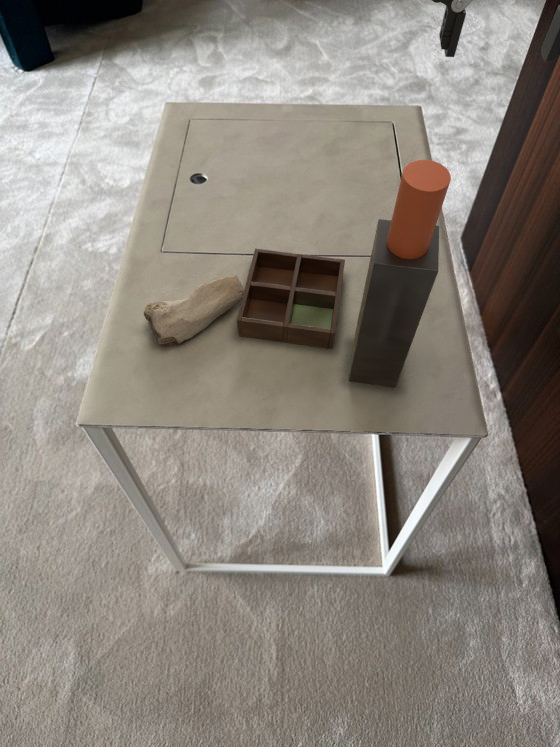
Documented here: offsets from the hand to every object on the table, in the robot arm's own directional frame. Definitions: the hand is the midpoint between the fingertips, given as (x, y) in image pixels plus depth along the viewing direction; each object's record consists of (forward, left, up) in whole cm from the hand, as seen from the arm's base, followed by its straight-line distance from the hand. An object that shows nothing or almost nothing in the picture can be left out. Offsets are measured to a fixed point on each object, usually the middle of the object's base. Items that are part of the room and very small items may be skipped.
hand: (497, 54), depth 48 cm
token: (+5, +12, -12) cm, 18 cm away
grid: (+17, +4, -34) cm, 38 cm away
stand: (+5, +12, -34) cm, 36 cm away
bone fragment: (+30, +8, -34) cm, 46 cm away
